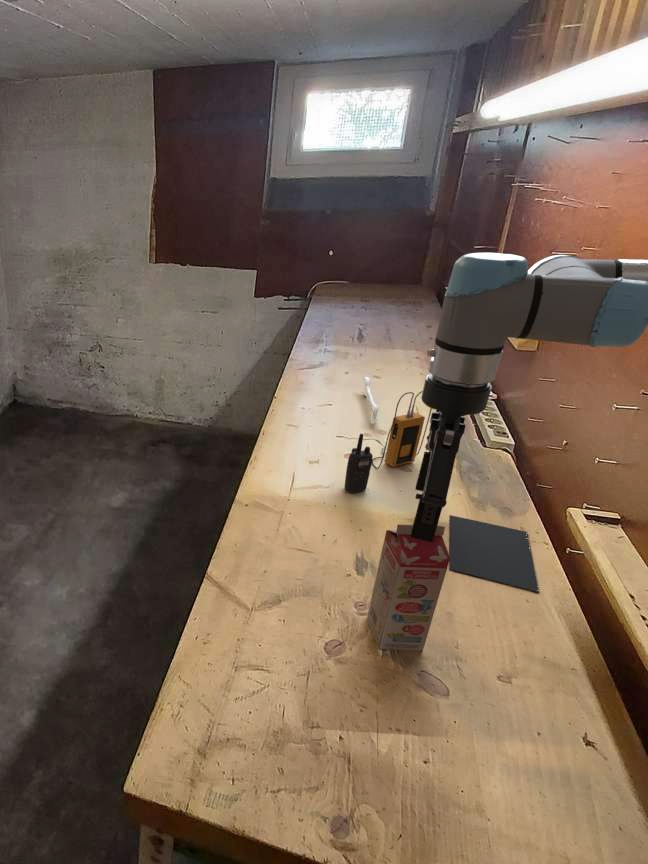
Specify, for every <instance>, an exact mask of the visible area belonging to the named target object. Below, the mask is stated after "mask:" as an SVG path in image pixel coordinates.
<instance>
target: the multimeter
mask: <svg viewBox="0 0 648 864" xmlns="http://www.w3.org/2000/svg"><path fill="white" fill-rule="evenodd" d="M422 392H423V390H421V391H420V392H418V393H417V394H416V396H415V393H414V392H411V391H410V392H409V391H408V392H405V393H404V394H402V395H401V396H400V398H399V399H398V402H397V404H396V407H395V413H394V417H393V418H392V423H391V426H390V429H389V430H388V434H387V437H386V441H385V445H384V446H385V447H384V446H382V448H381V450H382V451H381V452H382V456H377V457H374V458H372V464H371V466H372V467H374V468H375V469H377V470H378V469H380V467H381V466H382V463H383V460H384V463H386V464H387V465H389V466H390V467H392V468H396V467H398V466H402V465H406V464H412V463H414V462H415V461H416V456H418V455H419V454H420V451H421V448H422V445H423V444H424V443H423V442H424V439H425V436H426V432H427V429H428V425H429V422H430V419H431V414H432V410H433V409H432V408H430V409H429V413H428V417H427V421H426V425H425V428H424V423H425V419H426V416H424V415H422V414H420V413H417V412H415V406H416V405H415V404H416V399H417V397H419V395H420V394H422ZM408 394H409V395H410V394H412V396H411V399H410V403H409V407H408V410H407V413H406V414H403V415H402V414H401V415H397V411H398V407H399V404H400V402H401V400H402V398H403V397H404V396H406V395H408ZM414 396H415V397H414ZM413 399H414V400H413ZM412 402H413V404H412ZM423 429H424V432H423V434H422V431H423ZM421 435H423V436H422V438H421ZM420 440H421V443H420ZM419 444H420V445H419ZM376 459H381V460H380V464H379V466H378V467H377V466H375V464H374V463H373V462H374V460H376Z"/></svg>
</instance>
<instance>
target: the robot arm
mask: <svg viewBox="0 0 648 864" xmlns="http://www.w3.org/2000/svg"><path fill="white" fill-rule="evenodd" d="M528 266H529V261H528V259H527V258H526V257H524V256H521V255H516V254H512V253H500V252H471V253H467V254H464V255H461V256H460V257H458V259H457V260H456V261H455V263H454V264H453V267H452V271H451V274H450V278H449V281H448V284H447V287H446V290H445V294H444V299H443V303H442V308H441V312H440V317H439V321H438V327H437V331H436V334H435V339H434V344H433V349H431V348H430V349H428V350H426V354H425V355H426V356H427V357H429V358H430V361H429V366H428V373H429V374H427V375H426V377H425V379H424V384H423V388H422V391H423V392H422V393H421V402H422V403H423V404H424V405H425V406H427V407H428V408H430V409H431V408H432V410H435V411H431V414H430V418H429V423H430V424H429V429H428V435H426V442H427V443H426V444H425V451H424V453H423V457H422V459H421V460H422V461H421V464H420V469H419V473H418V476H417V480H416V483H415V489H414V490H415V491H419V492H422V493H416V494H415V499H416V500H419V501H418V504H417V508H416V513H415V516H414V520H413V523H412V525H413V527H412V531H411V536H410V537H412V538H416V539H420V540H424V541H428V542H433V539H434V535H435V532H436V528H437V526H439V521H440V518H441V514H442V510H443V508H445V507H446V505H447V501H448V500H447V498H448V493H449V489H450V484H451V480H452V475H453V470H454V466H455V462H456V457H457V454H458V452H459V450H460V445H461V444H460V443H461V439H462V438H463V435H464V434H465V430H466V423H465V422H466V421H465V420H466V416H474V415H478V414H481V413H483V412H484V411H485V410H486V409H487V405H488V403H489V399H490V395H491V392H492V388H493V385H492V384H491V383H492V382H494V381H495V379H496V376H497V374H498V370H499V367H500V363H501V360H502V356H503V353H504V348H505V344H506V342H507V339H508V338H511V339H517V340H518V339H519V340H532V341H541V342H550V343H552V342H553V343H560V344H571V345H580V346H589V347H591V348H596V347H605V348H606V347H612V348H624V347H625V348H626V347H628V346H631V345H632V344H634V343H636V342H637V341H638V340H639V339H640V338H641V337H642V335H643V333H644V332H645V331H646V329H647V327H648V259H582V258H580V257H578V256H575V255H567V254H556V255H550V256H548V257H545V258H543V259H540V260H539V261H537V262H536V263H534V264H533V265H532V266H531V267H530V268H529V269H528Z"/></svg>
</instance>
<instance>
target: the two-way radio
mask: <svg viewBox="0 0 648 864" xmlns="http://www.w3.org/2000/svg"><path fill="white" fill-rule="evenodd" d="M363 440H364V433H359V436H358V441H357V445H356V447H353V448H351V453H350V454H349V456H348V460H347V465H346V471H345V480H344V489H345V490H346V492H349V493H359V492H365V491H366V490H367V486H368V484H369V483H368V482H369V479H370V473H371V468H372V463H373V461H372V460H373V459H374V458H373V457H374V456H373V454H372V452H371V447H370V446H365V447H364V450H362V447H363Z"/></svg>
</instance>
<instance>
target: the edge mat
mask: <svg viewBox="0 0 648 864" xmlns="http://www.w3.org/2000/svg"><path fill="white" fill-rule="evenodd" d="M448 525H449V531H448V532H449V534H448V535H449V540H448V541H449V542H448V543H449V545H448V547H449V548H448V549H449V551H448V554H449V557H450V560H449V564H448V569H449V571H452V572H455V573H459V574H463V575H467V576H470V577H476V578H480V579H482V580H487V579H488V580H487V581H490V580H491V582H494V581H495V583H498V584H502V585H506V586H510V587H514V588H518V589H521V588H522V589H523V590H525V589H526V591H529V590H531V591H530V592H533V591H535V592H534V593H537V592H539V593H540V590H539V585H538V579H537V575H535V574H536V569H535V564H534V559H533V555H532V554H533V553H532V549H531V545H530V546H529V544H530V539H529V534H526V533H528V531H525V530H521V529H517V528H516V529H515V528H511V527H507V526H502V525H497V524H493V523H489V522H485V521H479V520H476V519H475V520H474V519H470V518H465V517H461V516H456V515H451V514H449V524H448ZM526 535H527V536H526ZM526 538H528V539H529V540H528V539H526ZM528 541H529V543H528ZM529 547H530V549H529ZM530 550H531V551H530ZM537 586H538V587H537ZM522 589H521V590H522ZM537 590H539V591H537ZM536 591H537V592H536Z"/></svg>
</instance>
